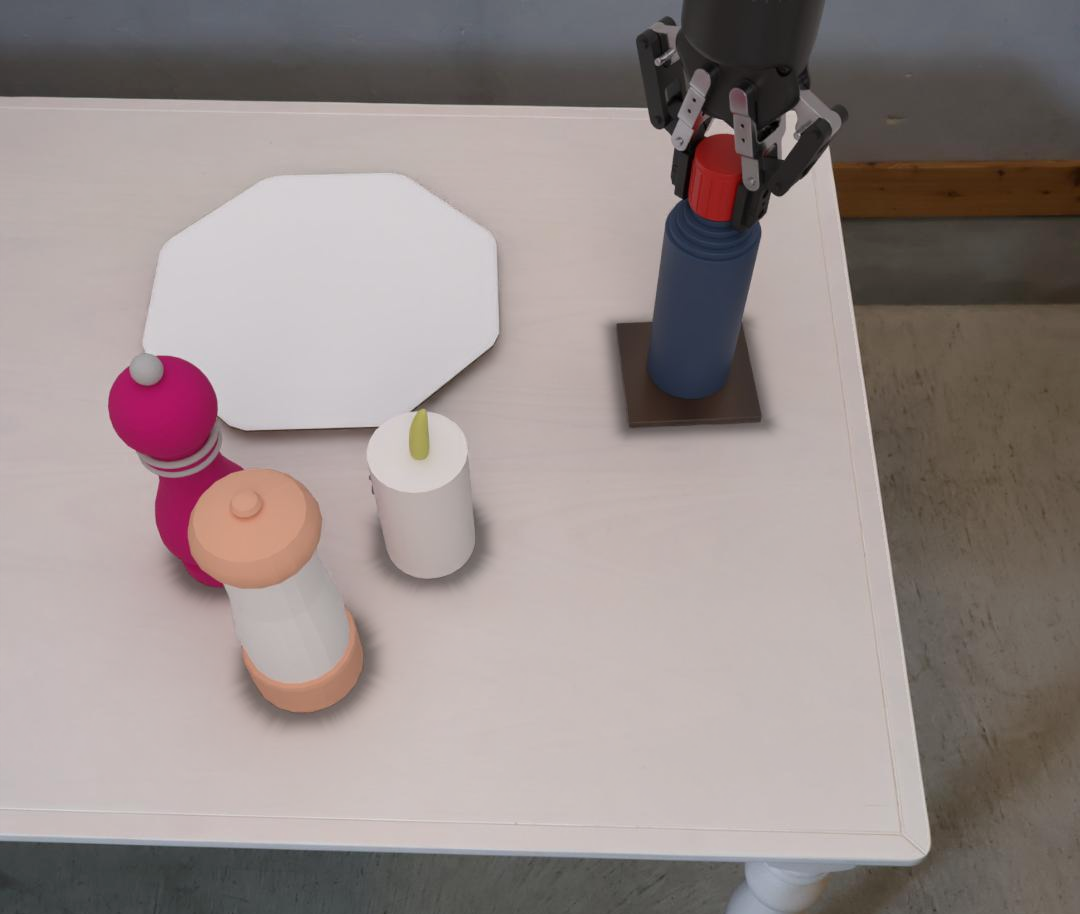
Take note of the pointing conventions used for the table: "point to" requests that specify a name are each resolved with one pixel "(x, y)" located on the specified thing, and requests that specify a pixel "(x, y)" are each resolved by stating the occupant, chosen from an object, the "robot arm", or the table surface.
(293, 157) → the table surface
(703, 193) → the cap
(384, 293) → the plate
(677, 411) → the coaster
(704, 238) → the bottle
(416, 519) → the candle
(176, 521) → the pepper mill
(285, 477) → the pepper shaker
